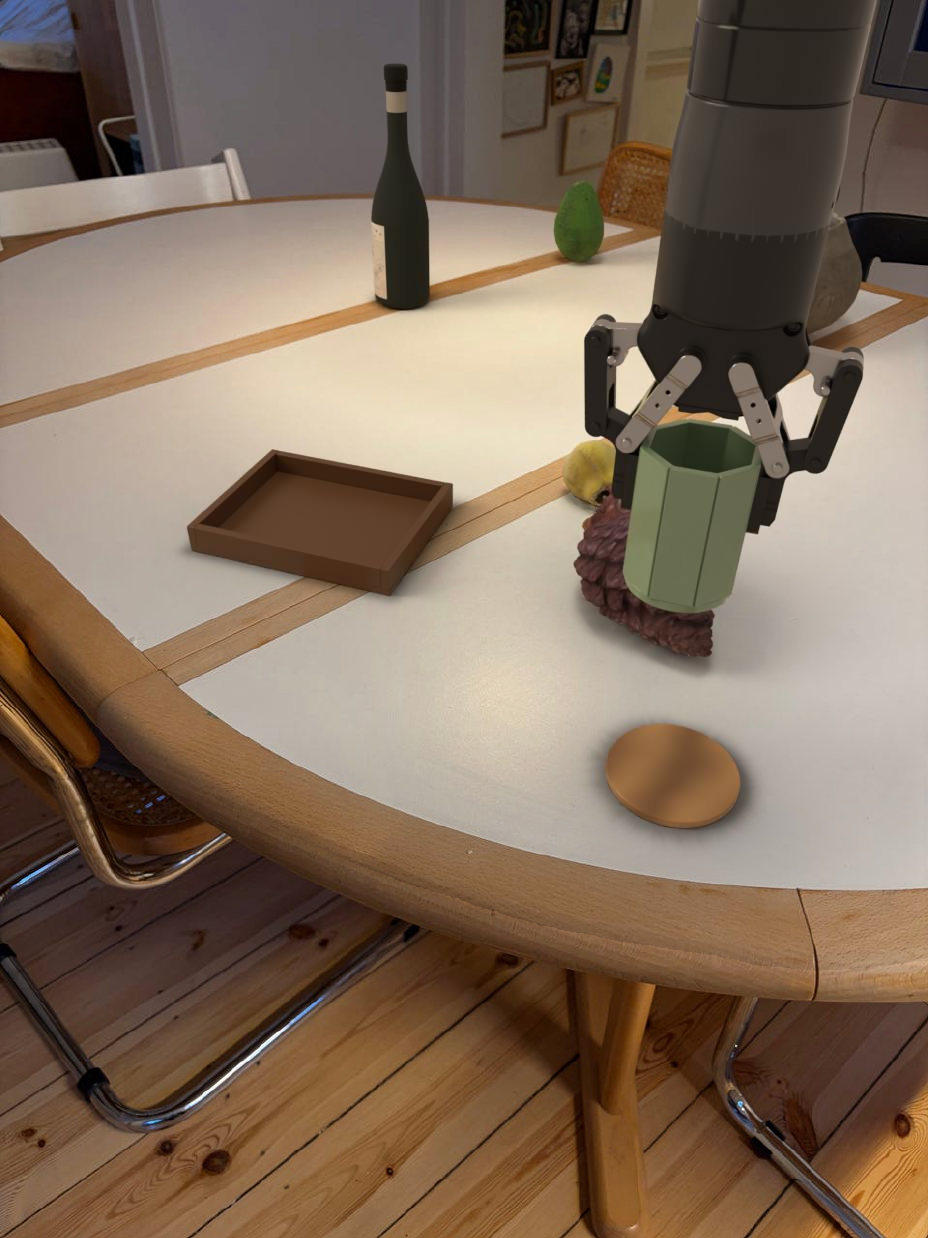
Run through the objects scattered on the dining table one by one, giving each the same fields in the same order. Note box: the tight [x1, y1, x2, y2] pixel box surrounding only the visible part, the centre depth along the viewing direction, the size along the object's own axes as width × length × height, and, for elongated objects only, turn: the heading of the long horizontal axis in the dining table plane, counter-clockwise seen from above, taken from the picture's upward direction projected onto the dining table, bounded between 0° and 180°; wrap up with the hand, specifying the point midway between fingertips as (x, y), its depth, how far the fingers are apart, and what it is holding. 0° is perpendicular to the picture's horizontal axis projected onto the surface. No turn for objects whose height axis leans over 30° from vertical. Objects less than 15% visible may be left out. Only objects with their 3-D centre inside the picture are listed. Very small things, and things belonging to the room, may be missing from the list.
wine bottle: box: [370, 63, 431, 310], centre depth 127 cm, size 8×8×30 cm
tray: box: [186, 448, 454, 596], centre depth 87 cm, size 20×16×3 cm
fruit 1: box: [553, 180, 605, 263], centre depth 148 cm, size 8×8×12 cm
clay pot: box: [807, 211, 863, 335], centre depth 125 cm, size 22×21×15 cm
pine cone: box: [572, 485, 716, 658], centre depth 75 cm, size 18×10×10 cm
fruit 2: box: [562, 439, 616, 506], centre depth 91 cm, size 6×6×10 cm
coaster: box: [605, 723, 741, 829], centre depth 64 cm, size 9×9×1 cm
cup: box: [623, 418, 762, 613], centre depth 53 cm, size 6×6×9 cm
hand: (690, 514), depth 53 cm, fingers closed on cup, 6 cm apart
